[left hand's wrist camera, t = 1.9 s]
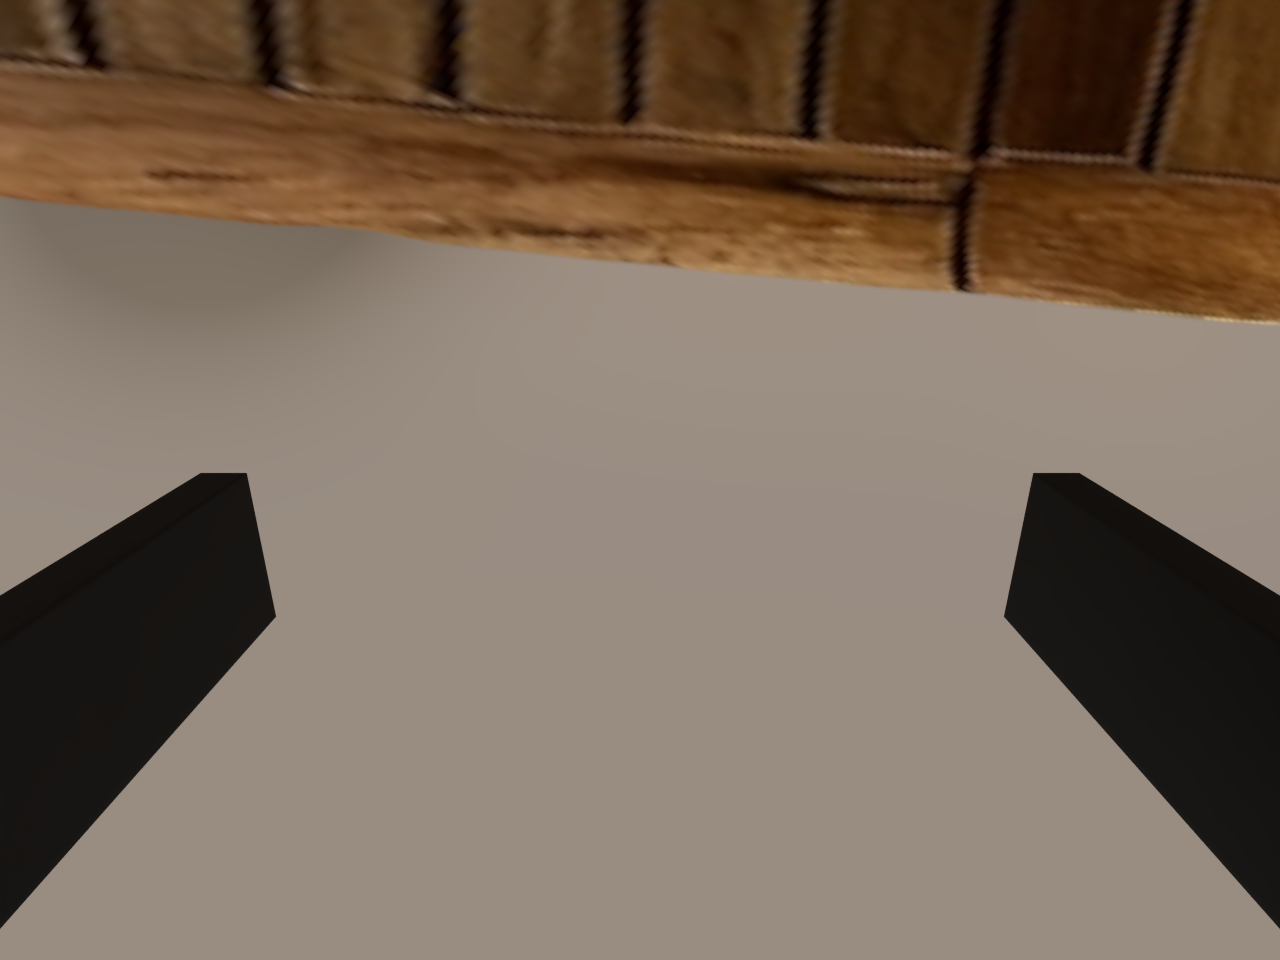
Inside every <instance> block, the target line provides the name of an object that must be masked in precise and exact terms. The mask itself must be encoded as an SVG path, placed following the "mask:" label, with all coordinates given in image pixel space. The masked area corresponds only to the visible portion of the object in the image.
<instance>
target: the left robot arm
mask: <svg viewBox="0 0 1280 960" xmlns="http://www.w3.org/2000/svg"><path fill="white" fill-rule="evenodd" d="M275 617H276V614H275V609H274V604H273V600H272V595H271V590H270V585H269V580H268V575H267V570H266V565H265V560H264V556H263V551H262V546H261V541H260V536H259V531H258V526H257V521H256V516H255V512H254V507H253V502H252V497H251V492H250V487H249V482H248V477H247V473H200V474H198V475H197V476H195V477H194V478H192V479H190V480H189V481H187V482H185V483H184V484H182V485H180V486H179V487H177V488H176V489H174V490H172V491H171V492H169V493H167V494H166V495H164V496H162V497H161V498H159V499H158V500H156V501H154V502H153V503H151V504H149V505H148V506H146V507H144V508H143V509H141V510H140V511H138V512H136V513H135V514H133V515H131V516H130V517H128V518H126V519H125V520H123V521H122V522H120V523H118V524H117V525H115V526H113V527H112V528H110V529H108V530H107V531H105V532H104V533H102V534H100V535H99V536H97V537H95V538H94V539H92V540H90V541H89V542H87V543H86V544H84V545H82V546H81V547H79V548H77V549H76V550H74V551H72V552H71V553H69V554H68V555H66V556H64V557H63V558H61V559H59V560H58V561H56V562H54V563H53V564H51V565H49V566H48V567H46V568H45V569H43V570H41V571H40V572H38V573H36V574H35V575H33V576H32V577H30V578H28V579H27V580H25V581H23V582H22V583H20V584H18V585H17V586H15V587H13V588H12V589H10V590H9V591H7V592H5V593H4V594H2V595H0V928H1V927H2V926H3V925H4V924H5V923H6V922H7V920H8V919H9V918H10V917H11V916H12V915H13V914H14V912H15V911H16V910H17V909H18V908H19V907H20V906H21V905H22V903H23V902H24V901H25V900H26V899H27V898H28V897H29V896H30V894H31V893H32V892H33V891H34V890H35V889H36V888H37V886H38V885H39V884H40V883H41V882H42V881H43V880H44V879H45V877H46V876H47V875H48V874H49V873H50V872H51V871H52V869H53V868H54V867H55V866H56V865H57V864H58V863H59V862H60V860H61V859H62V858H63V857H64V856H65V855H66V854H67V853H68V851H69V850H70V849H71V848H72V847H73V846H74V845H75V843H76V842H77V841H78V840H79V839H80V838H81V837H82V836H83V834H84V833H85V832H86V831H87V830H88V829H89V828H90V826H91V825H92V824H93V823H94V822H95V821H96V820H97V819H98V817H99V816H100V815H101V814H102V813H103V812H104V811H105V810H106V808H107V807H108V806H109V805H110V804H111V803H112V802H113V800H114V799H115V798H116V797H117V796H118V795H119V794H120V793H121V791H122V790H123V789H124V788H125V787H126V786H127V785H128V783H129V782H130V781H131V780H132V779H133V778H134V777H135V776H136V774H137V773H138V772H139V771H140V770H141V769H142V768H143V766H144V765H145V764H146V763H147V762H148V761H149V760H150V759H151V757H152V756H153V755H154V754H155V753H156V752H157V751H158V749H159V748H160V747H161V746H162V745H163V744H164V743H165V742H166V740H167V739H168V738H169V737H170V736H171V735H172V734H173V733H174V731H175V730H176V729H177V728H178V727H179V726H180V725H181V724H182V722H183V721H184V720H185V719H186V718H187V717H188V716H189V714H190V713H191V712H192V711H193V710H194V709H195V708H196V707H197V705H198V704H199V703H200V702H201V701H202V700H203V699H204V697H205V696H206V695H207V694H208V693H209V692H210V691H211V690H212V688H213V687H214V686H215V685H216V684H217V683H218V682H219V681H220V679H221V678H222V677H223V676H224V675H225V674H226V673H227V671H228V670H229V669H230V668H231V667H232V666H233V665H234V663H235V662H236V661H237V660H238V659H239V658H240V657H241V656H242V654H243V653H244V652H245V651H246V650H247V649H248V648H249V647H250V645H251V644H252V643H253V642H254V641H255V640H256V639H257V638H258V636H259V635H260V634H261V633H262V632H263V631H264V630H265V628H266V627H267V626H268V625H269V624H270V623H271V622H272V621H273V619H274V618H275ZM1004 617H1005V618H1006V619H1007V621H1008V622H1009V623H1010V624H1011V625H1012V626H1013V627H1014V628H1015V629H1016V631H1017V632H1018V633H1019V634H1020V635H1021V636H1022V637H1023V639H1024V640H1025V641H1026V642H1027V643H1028V644H1029V645H1030V647H1031V648H1032V649H1033V650H1034V651H1035V652H1036V653H1037V654H1038V656H1039V657H1040V658H1041V659H1042V660H1043V661H1044V662H1045V664H1046V665H1047V666H1048V667H1049V668H1050V669H1051V670H1052V671H1053V673H1054V674H1055V675H1056V676H1057V677H1058V678H1059V679H1060V681H1061V682H1062V683H1063V684H1064V685H1065V686H1066V687H1067V688H1068V690H1069V691H1070V692H1071V693H1072V694H1073V695H1074V696H1075V697H1076V699H1077V700H1078V701H1079V702H1080V703H1081V704H1082V705H1083V707H1084V708H1085V709H1086V710H1087V711H1088V712H1089V713H1090V714H1091V716H1092V717H1093V718H1094V719H1095V720H1096V721H1097V722H1098V724H1099V725H1100V726H1101V727H1102V728H1103V729H1104V730H1105V731H1106V733H1107V734H1108V735H1109V736H1110V737H1111V738H1112V739H1113V741H1114V742H1115V743H1116V744H1117V745H1118V746H1119V747H1120V748H1121V750H1122V751H1123V752H1124V753H1125V754H1126V755H1127V756H1128V757H1129V759H1130V760H1131V761H1132V762H1133V763H1134V764H1135V765H1136V767H1137V768H1138V769H1139V770H1140V771H1141V772H1142V773H1143V774H1144V776H1145V777H1146V778H1147V779H1148V780H1149V781H1150V782H1151V784H1152V785H1153V786H1154V787H1155V788H1156V789H1157V790H1158V791H1159V792H1160V794H1161V795H1162V796H1163V797H1164V798H1165V799H1166V800H1167V802H1168V803H1169V804H1170V805H1171V806H1172V807H1173V808H1174V809H1175V811H1176V812H1177V813H1178V814H1179V815H1180V816H1181V817H1182V819H1183V820H1184V821H1185V822H1186V823H1187V824H1188V825H1189V826H1190V828H1191V829H1192V830H1193V831H1194V832H1195V833H1196V834H1197V836H1198V837H1199V838H1200V839H1201V840H1202V841H1203V842H1204V843H1205V845H1206V846H1207V847H1208V848H1209V849H1210V850H1211V851H1212V853H1213V854H1214V855H1215V856H1216V857H1217V858H1218V859H1219V860H1220V862H1221V863H1222V864H1223V865H1224V866H1225V867H1226V868H1227V869H1228V871H1229V872H1230V873H1231V874H1232V875H1233V876H1234V877H1235V878H1236V880H1237V881H1238V882H1239V883H1240V884H1241V885H1242V886H1243V888H1244V889H1245V890H1246V891H1247V892H1248V893H1249V894H1250V895H1251V897H1252V898H1253V899H1254V900H1255V901H1256V902H1257V903H1258V905H1259V906H1260V907H1261V908H1262V909H1263V910H1264V911H1265V912H1266V914H1267V915H1268V916H1269V917H1270V918H1271V919H1272V920H1273V921H1274V923H1275V924H1276V925H1277V926H1278V927H1279V928H1280V595H1278V594H1276V593H1275V592H1273V591H1271V590H1270V589H1268V588H1267V587H1265V586H1263V585H1262V584H1260V583H1258V582H1257V581H1255V580H1253V579H1252V578H1250V577H1249V576H1247V575H1245V574H1244V573H1242V572H1240V571H1239V570H1237V569H1235V568H1234V567H1232V566H1230V565H1229V564H1227V563H1226V562H1224V561H1222V560H1221V559H1219V558H1217V557H1216V556H1214V555H1213V554H1211V553H1209V552H1208V551H1206V550H1204V549H1203V548H1201V547H1199V546H1198V545H1196V544H1195V543H1193V542H1191V541H1190V540H1188V539H1186V538H1185V537H1183V536H1181V535H1180V534H1178V533H1177V532H1175V531H1173V530H1172V529H1170V528H1168V527H1167V526H1165V525H1163V524H1162V523H1160V522H1158V521H1157V520H1155V519H1154V518H1152V517H1150V516H1149V515H1147V514H1145V513H1144V512H1142V511H1140V510H1139V509H1137V508H1136V507H1134V506H1132V505H1131V504H1129V503H1127V502H1126V501H1124V500H1122V499H1121V498H1119V497H1118V496H1116V495H1114V494H1113V493H1111V492H1109V491H1108V490H1106V489H1104V488H1103V487H1101V486H1100V485H1098V484H1096V483H1095V482H1093V481H1091V480H1090V479H1088V478H1086V477H1085V476H1083V475H1082V474H1080V473H1033V477H1032V482H1031V487H1030V492H1029V497H1028V502H1027V507H1026V512H1025V517H1024V521H1023V526H1022V531H1021V536H1020V541H1019V546H1018V551H1017V556H1016V560H1015V565H1014V570H1013V575H1012V580H1011V585H1010V590H1009V595H1008V600H1007V605H1006V609H1005V614H1004Z"/></svg>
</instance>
